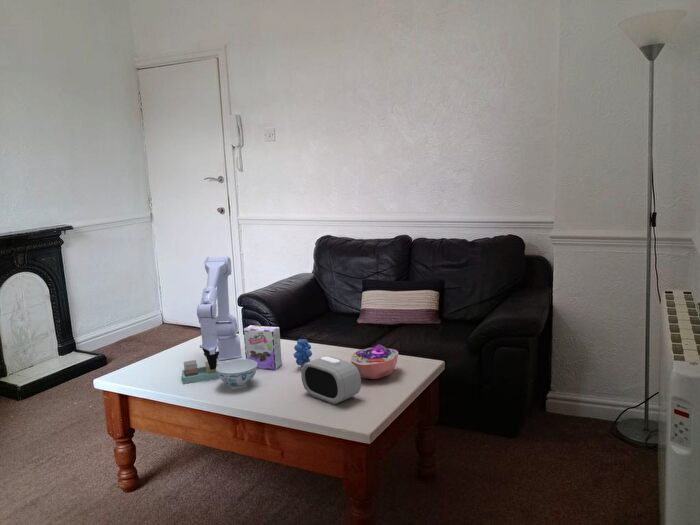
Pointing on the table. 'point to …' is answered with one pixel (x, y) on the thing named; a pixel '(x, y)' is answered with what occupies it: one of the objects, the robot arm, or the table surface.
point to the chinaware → (237, 372)
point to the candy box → (263, 346)
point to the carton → (209, 368)
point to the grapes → (302, 352)
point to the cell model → (375, 361)
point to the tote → (199, 376)
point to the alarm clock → (331, 379)
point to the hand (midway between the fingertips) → (212, 366)
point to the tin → (190, 368)
